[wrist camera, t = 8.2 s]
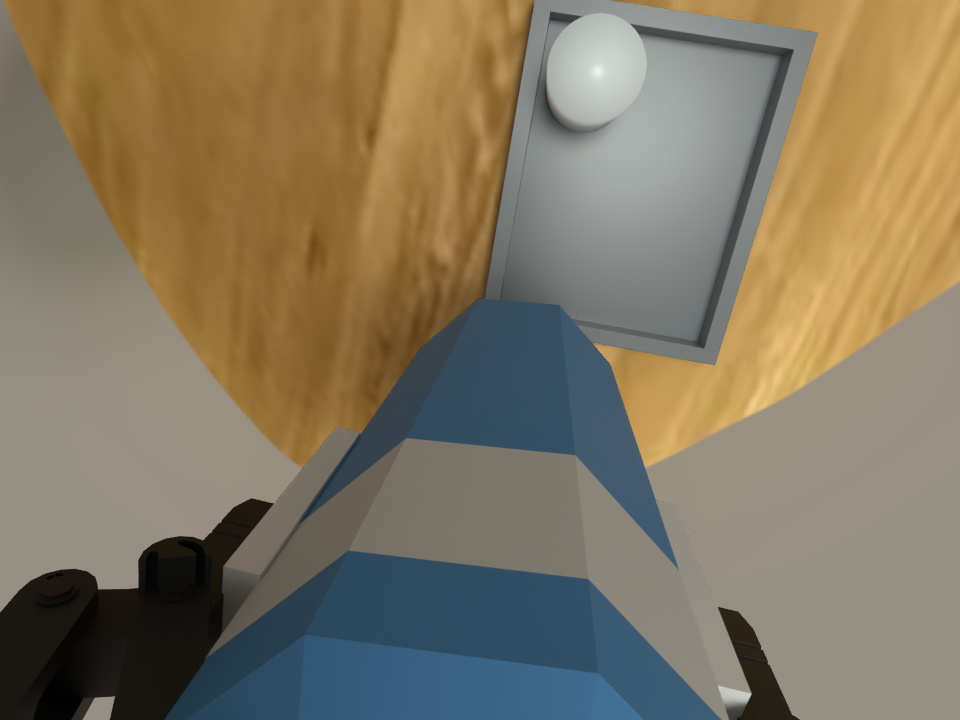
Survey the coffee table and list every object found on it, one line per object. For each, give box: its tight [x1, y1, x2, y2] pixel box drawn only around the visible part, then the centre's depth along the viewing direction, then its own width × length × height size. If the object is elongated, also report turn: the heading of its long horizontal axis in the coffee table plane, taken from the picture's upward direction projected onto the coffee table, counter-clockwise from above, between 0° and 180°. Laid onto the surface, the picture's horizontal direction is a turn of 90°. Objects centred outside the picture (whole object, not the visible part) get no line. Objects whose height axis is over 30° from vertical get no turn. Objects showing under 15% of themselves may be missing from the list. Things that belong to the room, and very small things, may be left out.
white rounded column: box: [546, 13, 647, 132], centre depth 32 cm, size 5×5×7 cm
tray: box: [485, 0, 818, 365], centre depth 37 cm, size 16×20×2 cm
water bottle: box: [165, 298, 729, 720], centre depth 15 cm, size 9×9×25 cm
